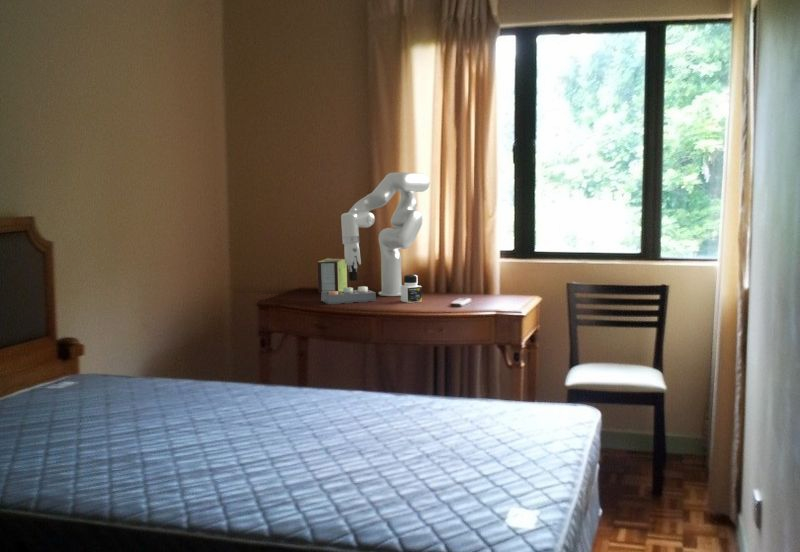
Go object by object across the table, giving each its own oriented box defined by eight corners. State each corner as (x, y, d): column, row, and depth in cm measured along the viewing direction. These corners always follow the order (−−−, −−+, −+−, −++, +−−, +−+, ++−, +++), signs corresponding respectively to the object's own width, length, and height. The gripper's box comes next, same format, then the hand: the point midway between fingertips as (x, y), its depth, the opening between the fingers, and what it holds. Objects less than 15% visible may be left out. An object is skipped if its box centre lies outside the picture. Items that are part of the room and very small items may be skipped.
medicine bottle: (408, 303, 385) (407, 276, 383) (400, 301, 391) (400, 274, 390) (422, 301, 388) (421, 275, 387) (414, 299, 394) (414, 273, 393)
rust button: (336, 297, 393) (336, 290, 393) (339, 298, 389) (339, 291, 389) (327, 298, 392) (327, 291, 391) (330, 299, 388) (330, 292, 387)
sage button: (351, 294, 396) (351, 287, 395) (354, 295, 392) (354, 288, 391) (342, 294, 394) (342, 287, 394) (345, 295, 390) (345, 288, 390)
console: (366, 297, 403) (366, 289, 402) (375, 301, 392) (375, 292, 391) (321, 301, 395) (321, 292, 394) (329, 304, 384) (329, 295, 383)
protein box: (347, 289, 434) (346, 258, 432) (338, 293, 419) (337, 261, 417) (327, 289, 437) (326, 258, 435) (317, 293, 422) (316, 261, 420)
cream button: (365, 293, 398) (365, 286, 398) (369, 294, 394) (368, 287, 394) (356, 293, 397) (356, 286, 396) (359, 294, 393) (359, 287, 392)
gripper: (364, 241, 385) (366, 281, 388) (353, 238, 399) (356, 277, 402) (347, 242, 383) (350, 283, 385) (338, 239, 396) (340, 279, 399)
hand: (353, 280), depth 394 cm, fingers closed
